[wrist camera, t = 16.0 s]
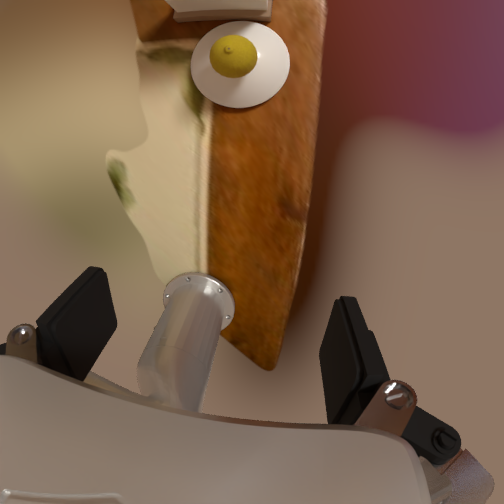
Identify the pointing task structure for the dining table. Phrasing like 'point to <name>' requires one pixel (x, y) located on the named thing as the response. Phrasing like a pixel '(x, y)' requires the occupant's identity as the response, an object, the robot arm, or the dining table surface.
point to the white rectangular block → (221, 10)
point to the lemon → (233, 56)
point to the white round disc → (251, 85)
